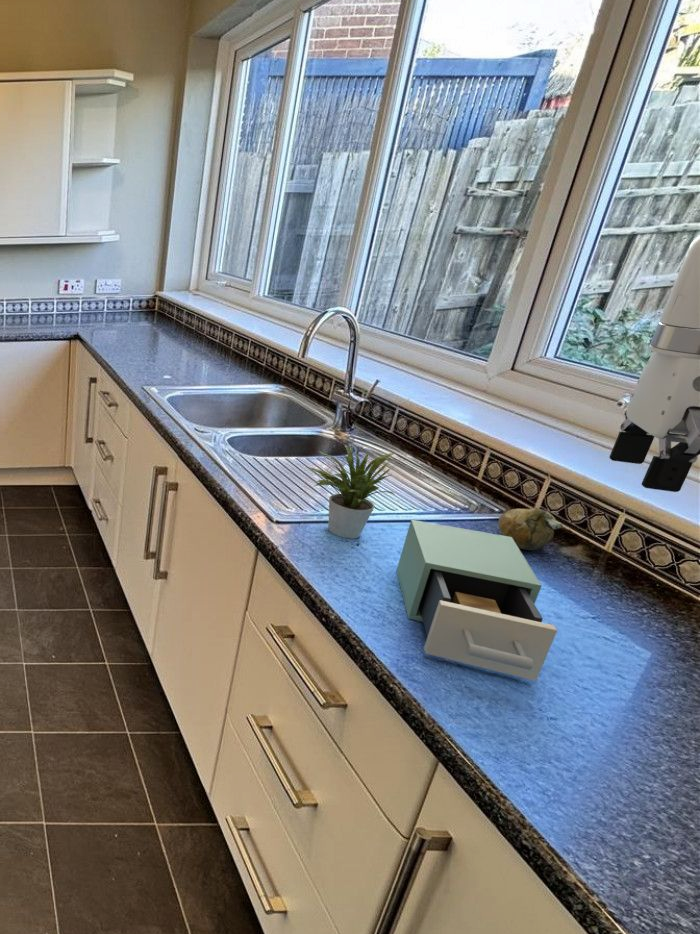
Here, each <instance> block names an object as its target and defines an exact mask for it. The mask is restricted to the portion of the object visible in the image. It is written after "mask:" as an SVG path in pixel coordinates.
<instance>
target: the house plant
mask: <svg viewBox="0 0 700 934" xmlns="http://www.w3.org/2000/svg"><path fill="white" fill-rule="evenodd" d="M344 448H345V450H346V453H347V455H346V454H345V453H342V455H343V456H344V458H345V460H346V463H347V465H348V469H349V474H348V473H347V471H346V470H345V469H346V468H344V466H343V464H342V463H340V461H339V460H338V459H337V458H335V457H334V456H333V455H330V454H328V453H326V452H323V451H319V450H315V449H314V450H315V452H318V453H320V454H323V455H325V456H324V458H325V459H328V460H330V461H332V462H336V464H335V463H332V462H330V461H327V463H328V464H332V465H333V466H334V467H335V469H336V470H337V471H338V473H334V474H331V473H329V472H327V471H324V470H322V469H318V468H314V467H310V466H309V467H308V468H309V469H310V470H312V471H314V474H315V475H318V476H321V477H322V478H323V479H318V480H316V481H314V484H315V483H316V484H315V485H314V487H317V486H331V487H332V488H333V489H334V490H335V492H337V493H335V494H334V493H333V494H332V495H330V496H329V497H328V521H327V523H328V525H327V526H328V527H327V529H328V531H329V532H330V533H331V534H333V535H335V536H337V537H339V538H344V539H351V540H352V539H359V538H360V536H361V534H362V533H363V530H364V528H365V526H366V525H367V523H368V521H369V519H370V516H371V515H372V514H373V513H372V512H373V511H374V509H375V504H374V503H373V502H372V501H371V500H369V499H367V498H368V497H370V496H371V495H374V494H377V493H379V494H380V493H388V494H391V495H393V496H394V497H396V494H395V493H394V492H392V491H389V490H381V491H377V490H378V489H380V487H379V486H377V484H381V483H382V480H385V478H388V477H392V474H388V472H390V470H392V469H393V468H394V467H395V465H393V466H391V467H390V468H388V469H387V470H386V471H384V472H383V473H382V474H381V475H379V474H380V473H381V472H382V471H383V470H384V469H386V467H387V466H388V465H389V464H390V463H391V460H389V461H387V460H388V459H389V458H390V457H392V456H393V455H395V454H396V452H391V453H387V454H385V455H381V456H378V457H376V458H374V459H373V460H371V461H370V462H369V463H368V464H367V462H368V459H369V453H367V454H365V456H364V458H363V459H362V460H361V462H360V457H359V456H358V454H357V453H354V454H353V452H352V450H351V449H350V448H349V446H347V445H346V444H344ZM354 456H355V461H354ZM386 461H387V462H386ZM354 462H355V463H354ZM385 462H386V463H385ZM383 463H385V464H383ZM337 465H338V466H337ZM381 465H382V466H381ZM380 466H381V467H380ZM339 467H340V468H339ZM379 467H380V468H379ZM377 469H378V470H377ZM386 474H387V475H386ZM378 475H379V476H378ZM377 476H378V477H377ZM376 477H377V478H376Z"/></svg>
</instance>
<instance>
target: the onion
mask: <svg viewBox="0 0 700 934" xmlns="http://www.w3.org/2000/svg"><path fill="white" fill-rule="evenodd" d="M497 525H498V530H499V533H500V535H503V536H508V537H512V538H513V540H514V542H515V543H516V545H517V546H518V548H519V550H526V551H535V550H538V549H542V548H544V547H546V546H548V545H549V544H550V543H551V542H552V541H553V539H554V535H555V531H554V530H559V529H562V528H563V524H562V523H561V522H559V521H558V520H556V517H554V516H553V514H551V513H550V512H549V511H548V510H544V509H542V508H539V507H535V506H534V509H533V508H511V509H509V510H507V511H506V512H505V513H503V514H501V516H500V517H499V518H498V523H497Z"/></svg>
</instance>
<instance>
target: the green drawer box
mask: <svg viewBox="0 0 700 934" xmlns="http://www.w3.org/2000/svg"><path fill="white" fill-rule="evenodd" d="M404 540H405V541H404V543H403V547H402V550H401V553H400V557H399V560H398V563H397V568H396V573H397V578H398V582H399V586H400V587H399V588H400V590H401V595H402V599H403V604H404V607H405V611H406V615H407V618H408V619H409V620H413V621H416V622H422V623H424V622H423V619H422V615H421V612H420V608H419V605H420V601H421V598H422V595H423V592H424V589H425V586H426V582H427V579H428V576H429V573H430V570H431V569H435V570H440V571H445V572H450V573H455V574H460V575H465V576H470V577H475V578H480V579H485V580H490V581H495V582H500V583H505V584H510V585H515V586H520V587H525V589H526V590H527V592H528V594H529V596H530V597H531V599H532V601H533V603H534V604H535V605H536V601H537V598H538V596H539V594H540V591H541V589H542V586H543V585H542V584H541V582H540V580H539V578H538V577H537V576H536V574H535V572H534V571H533V569H532V567H531V566H530V564H529V562H528V561H527V559H526V558H525V556H524V555H523V552H522V551H521V549H519V548H518V546H517V545H516V543H515V542H514V540H513V538H512V537H508V536H503V535H502V534H496V533H490V532H484V531H479V530H473V529H468V528H462V527H457V526H452V525H451V526H450V525H445V524H438V523H433V522H427V521H422V520H416V519H410V523H409V525H408V528H407V532H406V536H405V539H404Z"/></svg>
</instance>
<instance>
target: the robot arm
mask: <svg viewBox="0 0 700 934" xmlns="http://www.w3.org/2000/svg"><path fill="white" fill-rule="evenodd" d="M665 303H666V304H665V306H664V308H663V311H662V313H661V315H660V318H659V321H658V323H657V325H656V328H655V331H654V333H653V336H652V338H651V341H650V343H649V346H648V348H647V350H648V351H651V352H652V353H651V355H650V357H649V359H648V361H647V362H646V364H645V366H644V368H643V370H642V372H641V374H640V375H639V378H638V381H637V383H636V385H635V387H634V389H633V391H632V394H631V395H630V398H629V401H628V404H627V408H626V410H625V412H624V418H625V419H624V421H623V422H622V423H621V424H620V427H619V430H620V431H619V432H618V435H617V436H616V439H615V442H614V445H613V447H612V449H611V452H610V454H609V457H608V458H609V460H611V461H612V462H620V463H626V464H627V463H628V464H635V465H641V464H643V463H644V462H645V460H646V458H647V455H648V453H649V451H650V448H651V446H652V444H653V441H654V440H655V438H656V439H658V456H657V455H653V456H652V458H651V460H650V463H649V465H648V467H647V470H646V472H645V475H644V477H643V479H642V482H641V486H642V487H643V488H645V489H650V490H656V491H657V490H658V491H665V492H672V493H678V492H680V491H681V489H682V487H683V485H684V483H685V481H686V479H687V477H688V474H689V472H690V471H691V468H692V466H693V464H694V463H697V460H698V457H699V455H700V235H698V236H697V237H695V239H693V240H692V242H691V243H690V245H689V247H688V249H687V251H686V253H685V257H684V259H683V261H682V263H681V266H680V268H679V271H678V273H677V276H676V278H675V280H674V283H673V286H672V288H671V291H670V293H669V296H668V298H667V301H666V302H665ZM672 443H677V444H675V445H674V446H673V447H672Z"/></svg>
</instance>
